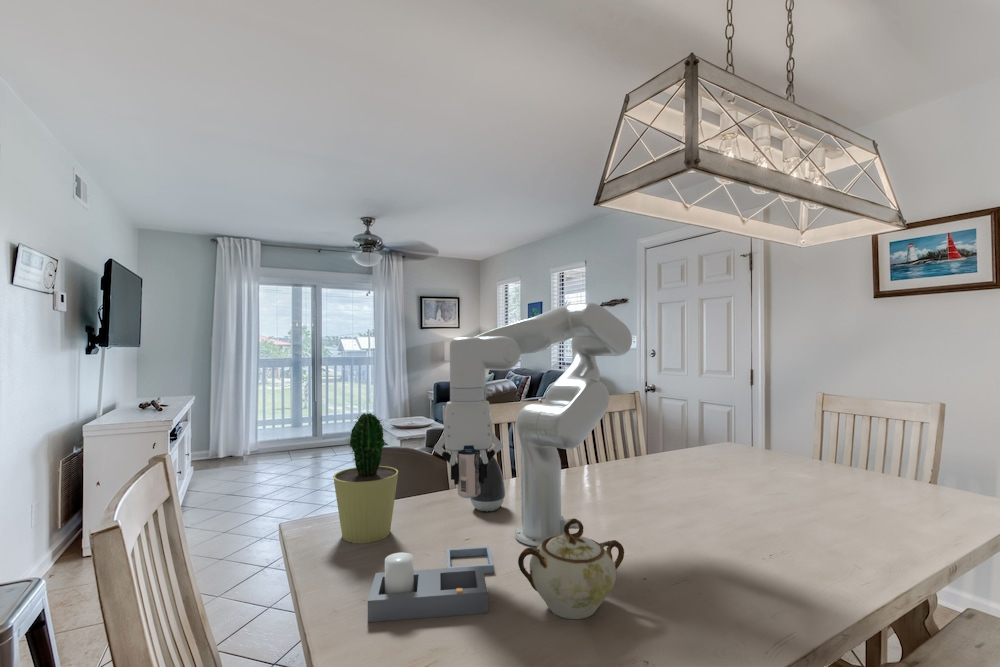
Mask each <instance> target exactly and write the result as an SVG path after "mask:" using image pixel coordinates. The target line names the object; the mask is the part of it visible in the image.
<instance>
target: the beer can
mask: <svg viewBox="0 0 1000 667" xmlns="http://www.w3.org/2000/svg"><path fill="white" fill-rule="evenodd" d="M473 445H474V444H472V443H471V444H465V445H464V449H463V450H461V451H458V454H457V458H456V461H457V464H458V484H457V494H458V496H460V498H463V499H470V498H474V497H477V496H478V495H479V494H480V457H481V455H480V451H479V450H476V449H474V446H473Z"/></svg>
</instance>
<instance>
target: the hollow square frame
mask: <svg viewBox="0 0 1000 667" xmlns="http://www.w3.org/2000/svg"><path fill="white" fill-rule="evenodd" d="M473 556H486V558H487V559H486V560H487V563H488V564H472V565H460V566H459V565H457V566H451V558H454V557H455V558H456V557H457V558H459V557H473ZM446 565H447V566H446V568H457V567H473V566H483V571H484V574H493V573H494V562H493V557H492V554H491V550H490V547H489V546H478V547H477V546H476V547H462V548H460V547H459V548H447V549H446Z"/></svg>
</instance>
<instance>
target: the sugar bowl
mask: <svg viewBox="0 0 1000 667" xmlns="http://www.w3.org/2000/svg"><path fill="white" fill-rule="evenodd" d="M579 520H580V519H577V518H573V519H571V520H570V521H568V522H567V523H566V524H565V526H564V533H565V535H560V536H554V537H550V538H547V539H546V540H544V541H543V542H542V544H541V545H539V546H536V548H534V547H527V548H525V549H524V550H522V551H521V553H520V554H519V556H518V560H517V564H518V568H519V571H520V572H521V573H522V574H523V576H524V577H525V578H526V579H527V581H528V582H529V584H530V585H531V587H532V589H534V591H535V592H537V593H538V594H539V596H540V598H541V599H542V600H543V601H544V602H545V604H546V605H547V607H548V609H549V610H550V611H551V612H552V613H553V614H554V615H556V616H558V617H561V618H563V619H568V620H581V619H586V618H589V617H591V616H592V615H593V614H595V613H596V611H597V609H598V608H599V607H600V606H601V604H603V602H604V601H605V600H606V599H607V598H608V596H609V595H610V594H611V592H612V590H613V589H614V587H615V583H616V579H617V569H618V568H619V566H620V565H621V564H622V562H623V560H624V557H625V549H624V546H623V545H622V543H620V542H619V541H618V540H616V539H613V540H609V541H604V542H601V543H599V542H597V541H596V540H594V539H591V538H589V537H586V536H584V535H583V534H584V533H585V532H584V529H585V528H584V524H583V523H582V521H581V522H580V521H579ZM573 524H578V525H579V529H578V531H577V532H574V533H571V532H570V529H569V528H570V526H571V525H573ZM605 547H607V548H606V549H605ZM614 547H615V548H616V549H617V551H618V555H617V558H616V559H615V561H614V559H613V555H612V550H613V548H614ZM530 555H531V557H530V560H529V572H528V571H527V569H526V568H525V565H524V561H525V558H526V557H527V556H530Z"/></svg>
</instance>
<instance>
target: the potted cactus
mask: <svg viewBox="0 0 1000 667" xmlns="http://www.w3.org/2000/svg"><path fill="white" fill-rule="evenodd" d="M354 418H355V417H354ZM382 420H384V418H382V419H381V420H380V419H379V418H378V416H377V414H376V413H375V414H374V413H373V414H372V413H371V411H369V412H366V413H364V412H363V413H361V414H359V416H356V418H355V423H354V424H353V426H352V429H351V428H350V431H351V432H350V436H349V437H348V438H346V439H345V440H347V442H348V447H349V449H351V450H352V451H351V450H350V453H351V454H353V456H352V462H354V466H355V467H351V468H347V469H343V470H340V471H337V472H336V473H334V474H333V475H332V478H333V485H334V489H335V498H336V503H337V509H338V517H339V523H340V531H341V536H342V540H344V541H345V542H347V541H348V543H350V542H352V543H351V544H368V543H375V542H378V541H381V540H384V539H385V538H387V537H388V536H389V535H390V534H391V529H392V528H391V527H392V521H393V515H394V514H393V513H394V506H395V498H396V492H397V491H396V490H397V484H398V478H399V476H398V475H399V470H398V469H396V467H395V468H394V467H391V466H383V465H382V464H381V463H383V462H386V461H384V460H385V457H386V456H384V455H382V453H383V454H385V452H384V447H387V444H386V445H385V442H387V440H386V439H384V438H385V435H384V433H385V432H386V430H385V428H383V427H384V424H383V423H382V422H381V421H382ZM347 435H349V433H347ZM382 456H383V457H384V458H382Z"/></svg>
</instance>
